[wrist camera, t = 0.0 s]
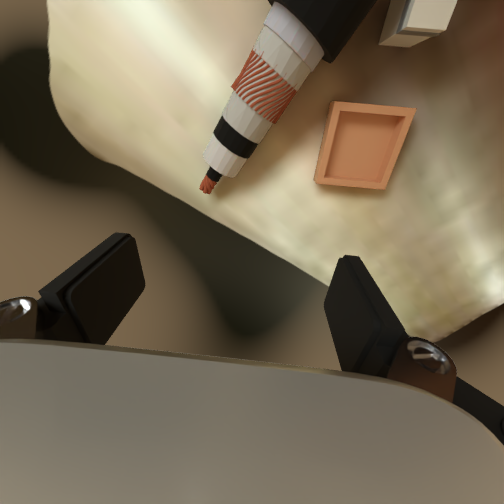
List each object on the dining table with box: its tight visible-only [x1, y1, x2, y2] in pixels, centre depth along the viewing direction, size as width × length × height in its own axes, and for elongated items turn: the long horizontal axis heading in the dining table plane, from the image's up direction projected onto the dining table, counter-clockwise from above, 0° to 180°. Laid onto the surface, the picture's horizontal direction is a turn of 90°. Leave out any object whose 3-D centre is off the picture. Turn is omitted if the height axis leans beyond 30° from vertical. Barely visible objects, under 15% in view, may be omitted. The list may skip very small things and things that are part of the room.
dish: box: [314, 101, 417, 190], centre depth 34 cm, size 11×11×3 cm
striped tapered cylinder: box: [199, 0, 377, 194], centre depth 29 cm, size 10×34×10 cm, turn 144°
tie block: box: [378, 0, 457, 47], centre depth 25 cm, size 4×4×7 cm
